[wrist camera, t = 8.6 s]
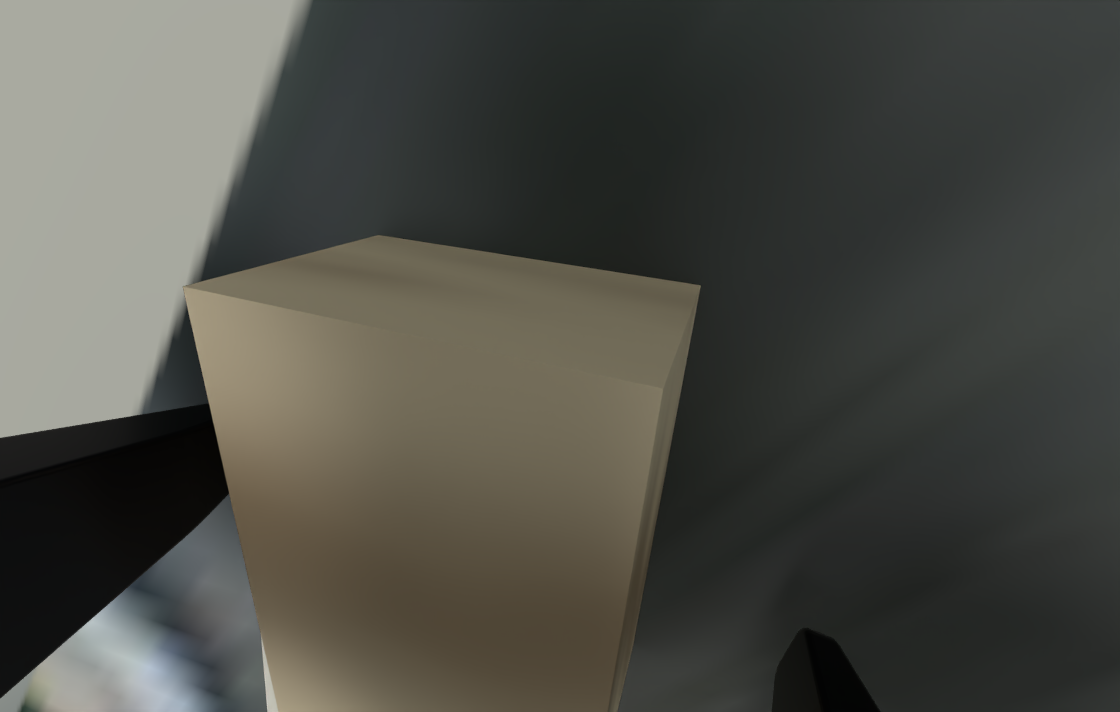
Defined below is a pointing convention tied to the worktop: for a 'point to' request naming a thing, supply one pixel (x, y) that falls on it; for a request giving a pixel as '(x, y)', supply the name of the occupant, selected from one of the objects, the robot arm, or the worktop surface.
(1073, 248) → the worktop surface
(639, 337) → the birch block
